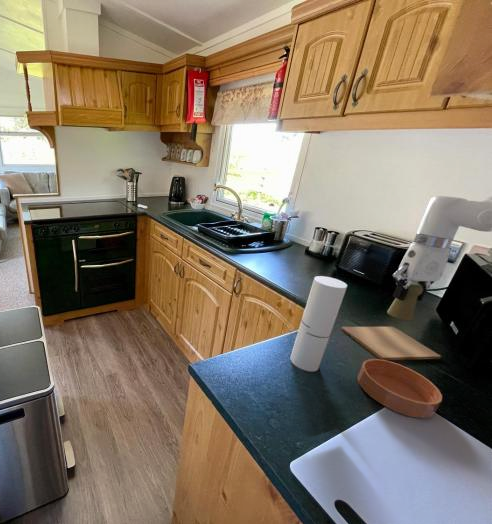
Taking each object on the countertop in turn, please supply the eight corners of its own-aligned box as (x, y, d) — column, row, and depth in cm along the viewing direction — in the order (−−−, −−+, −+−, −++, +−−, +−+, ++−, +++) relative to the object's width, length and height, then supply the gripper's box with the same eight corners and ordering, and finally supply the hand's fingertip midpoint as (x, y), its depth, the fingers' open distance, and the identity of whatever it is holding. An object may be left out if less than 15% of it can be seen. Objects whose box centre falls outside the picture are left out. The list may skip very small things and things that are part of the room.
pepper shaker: (382, 311, 91) (396, 280, 87) (393, 309, 93) (407, 278, 89) (405, 321, 86) (420, 288, 82) (416, 318, 88) (431, 286, 84)
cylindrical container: (303, 352, 85) (328, 275, 77) (324, 369, 79) (354, 286, 70) (284, 356, 83) (307, 277, 74) (304, 373, 77) (332, 289, 68)
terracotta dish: (391, 371, 80) (397, 358, 78) (451, 417, 66) (460, 402, 65) (343, 373, 78) (348, 359, 76) (394, 421, 64) (402, 405, 63)
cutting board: (391, 328, 102) (392, 326, 101) (440, 358, 87) (441, 356, 87) (340, 329, 99) (341, 326, 99) (382, 360, 84) (383, 357, 84)
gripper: (419, 244, 76) (393, 304, 83) (473, 246, 79) (444, 304, 85) (393, 236, 83) (371, 292, 90) (443, 238, 86) (418, 293, 92)
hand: (406, 298), depth 87 cm, fingers closed on pepper shaker, 5 cm apart
